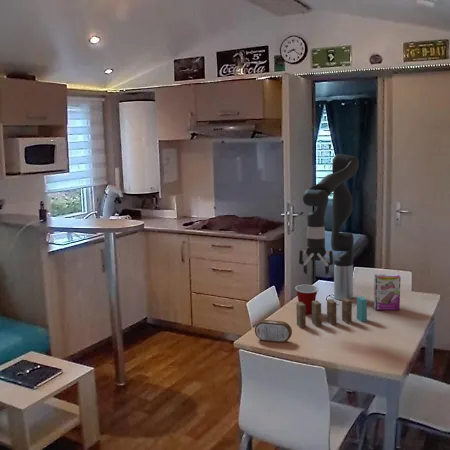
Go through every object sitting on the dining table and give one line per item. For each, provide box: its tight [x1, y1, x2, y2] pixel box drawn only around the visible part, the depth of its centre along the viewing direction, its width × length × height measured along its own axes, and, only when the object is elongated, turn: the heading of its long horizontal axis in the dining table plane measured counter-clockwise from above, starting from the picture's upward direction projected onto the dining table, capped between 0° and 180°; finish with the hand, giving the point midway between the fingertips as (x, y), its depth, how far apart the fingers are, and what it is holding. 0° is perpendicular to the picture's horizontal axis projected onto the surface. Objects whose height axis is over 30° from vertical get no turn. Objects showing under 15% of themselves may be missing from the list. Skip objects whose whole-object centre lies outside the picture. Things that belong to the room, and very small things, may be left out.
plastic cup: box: [294, 284, 319, 315], centre depth 262 cm, size 11×11×12 cm
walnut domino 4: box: [341, 298, 353, 324], centre depth 248 cm, size 2×5×10 cm, turn 11°
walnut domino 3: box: [326, 298, 338, 326], centre depth 246 cm, size 2×5×10 cm, turn 10°
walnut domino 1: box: [296, 301, 307, 329], centre depth 244 cm, size 2×5×10 cm, turn 11°
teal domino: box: [356, 296, 368, 323], centre depth 249 cm, size 2×5×10 cm, turn 11°
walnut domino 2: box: [311, 300, 322, 327], centre depth 245 cm, size 2×5×10 cm, turn 11°
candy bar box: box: [373, 273, 401, 311], centre depth 262 cm, size 11×5×16 cm, turn 84°
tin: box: [254, 319, 293, 343], centre depth 227 cm, size 15×3×8 cm, turn 71°
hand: (316, 274), depth 241 cm, fingers open, 8 cm apart
